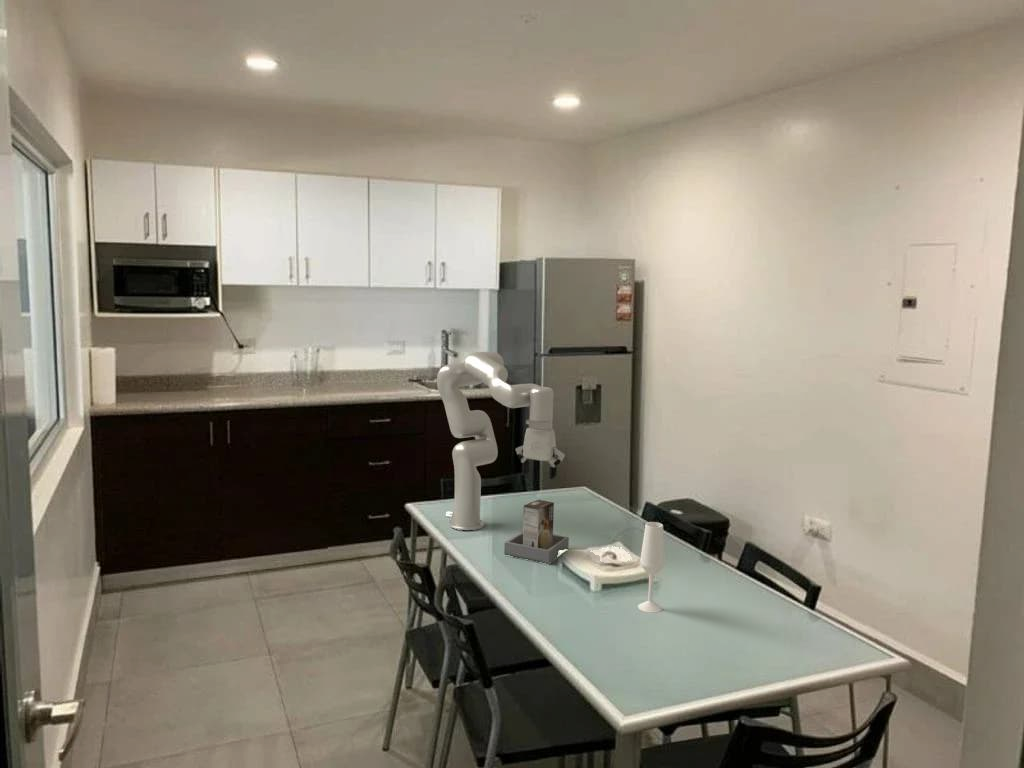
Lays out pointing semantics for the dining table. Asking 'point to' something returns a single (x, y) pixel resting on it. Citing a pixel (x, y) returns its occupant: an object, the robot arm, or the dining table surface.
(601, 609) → the dining table surface
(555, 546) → the box
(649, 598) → the champagne flute
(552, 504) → the coffee box
